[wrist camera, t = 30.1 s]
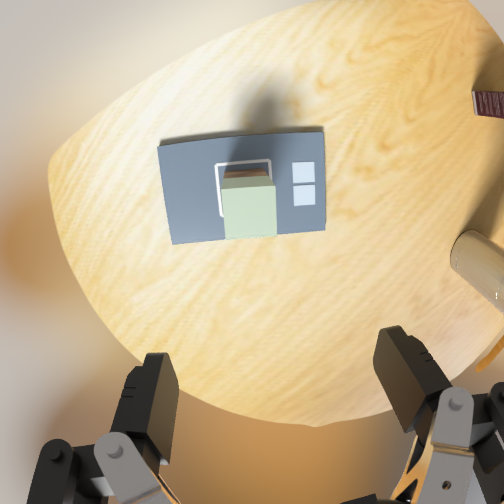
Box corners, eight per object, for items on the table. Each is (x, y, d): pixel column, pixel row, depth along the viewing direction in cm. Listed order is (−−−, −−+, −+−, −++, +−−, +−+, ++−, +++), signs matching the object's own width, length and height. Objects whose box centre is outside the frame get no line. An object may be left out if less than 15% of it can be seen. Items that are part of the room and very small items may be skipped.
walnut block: (262, 168, 38) (267, 175, 32) (265, 204, 40) (270, 217, 34) (224, 171, 38) (222, 178, 32) (228, 207, 40) (227, 221, 34)
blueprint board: (321, 132, 37) (323, 132, 36) (323, 228, 43) (325, 230, 42) (159, 146, 37) (157, 146, 36) (173, 242, 42) (172, 244, 41)
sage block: (268, 175, 32) (275, 185, 27) (269, 217, 34) (277, 236, 29) (223, 178, 32) (221, 189, 27) (226, 221, 34) (225, 239, 29)
